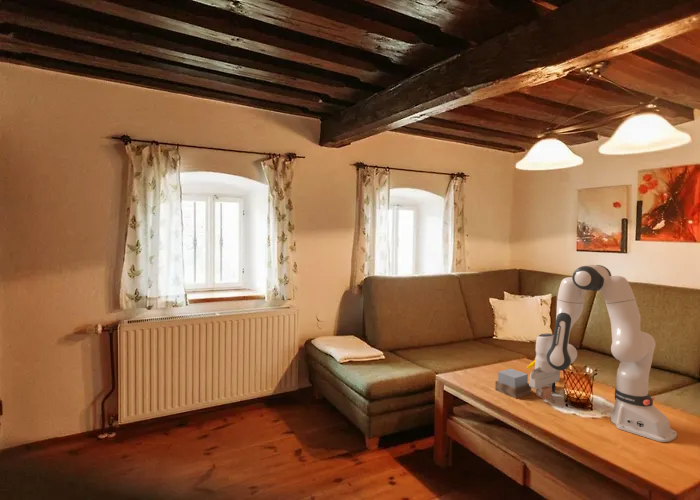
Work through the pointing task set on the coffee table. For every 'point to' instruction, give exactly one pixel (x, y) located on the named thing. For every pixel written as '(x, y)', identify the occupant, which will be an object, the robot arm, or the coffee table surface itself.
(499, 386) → the tower base slab
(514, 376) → the tower top block
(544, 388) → the terracotta cube
